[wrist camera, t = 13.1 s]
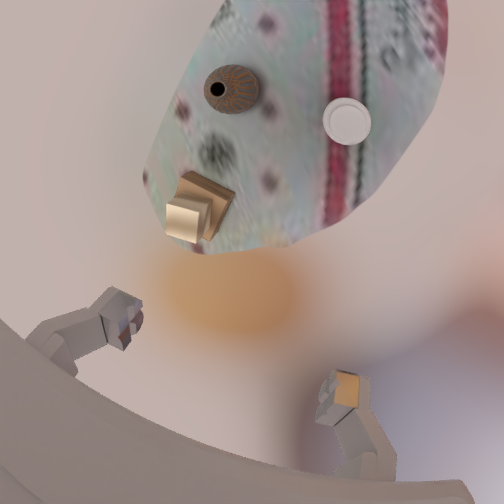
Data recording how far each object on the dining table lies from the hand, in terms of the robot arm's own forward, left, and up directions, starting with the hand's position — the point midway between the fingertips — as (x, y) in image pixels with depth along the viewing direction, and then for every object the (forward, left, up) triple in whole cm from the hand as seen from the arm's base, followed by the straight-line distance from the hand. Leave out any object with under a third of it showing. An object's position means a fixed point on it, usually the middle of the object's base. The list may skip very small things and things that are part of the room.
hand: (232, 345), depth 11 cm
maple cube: (+12, -14, -30) cm, 36 cm away
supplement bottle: (-7, +3, -34) cm, 35 cm away
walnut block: (+12, -14, -34) cm, 39 cm away
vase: (-7, -12, -34) cm, 37 cm away
